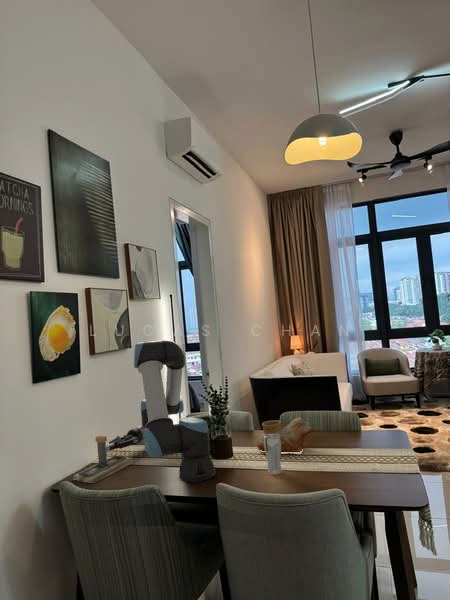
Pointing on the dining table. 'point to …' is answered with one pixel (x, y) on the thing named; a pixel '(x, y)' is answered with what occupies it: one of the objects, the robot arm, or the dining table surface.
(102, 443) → the fader lever
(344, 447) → the dining table surface
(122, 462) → the fader console
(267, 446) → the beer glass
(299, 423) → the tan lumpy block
